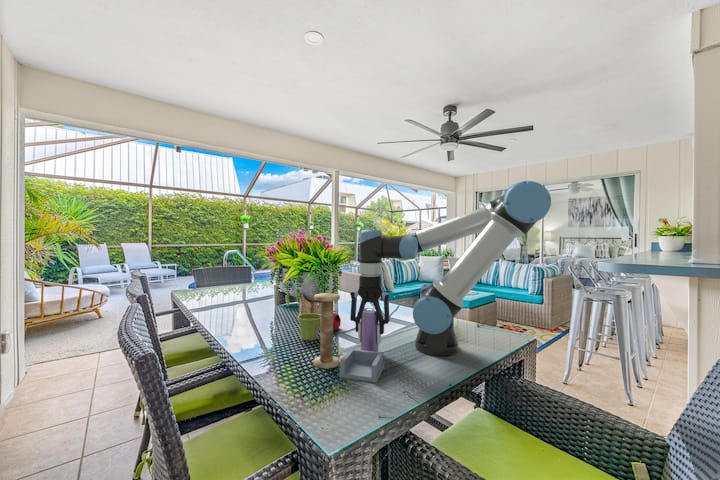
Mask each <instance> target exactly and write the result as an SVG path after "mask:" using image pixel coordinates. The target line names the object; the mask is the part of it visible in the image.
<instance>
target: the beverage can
mask: <svg viewBox="0 0 720 480" xmlns="http://www.w3.org/2000/svg"><path fill="white" fill-rule="evenodd" d="M360 321H361V342H360V350H366V351H375V352H379V345H377V325H378V324H379V320H378V317H377V313H376V310H375V307H374V308H373V307H365V308H364V310H362V313H361V320H360Z"/></svg>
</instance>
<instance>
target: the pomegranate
mask: <svg viewBox="0 0 720 480" xmlns="http://www.w3.org/2000/svg"><path fill="white" fill-rule="evenodd" d="M341 319H342V318H341V317H340V315H339V314H338V313H337V310H333V332H334V331H337V330H338V329H339V328H340V327H341V324H342V323H341V322H342V321H341ZM319 328H320V325H319Z"/></svg>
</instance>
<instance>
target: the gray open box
mask: <svg viewBox="0 0 720 480" xmlns="http://www.w3.org/2000/svg"><path fill="white" fill-rule="evenodd" d="M339 368H340V369H339V372H338V377H339V378H342V379H349V380H356V381H362V382H370V383H378V381H379V379H380V376H381V375H382V372H383V370H384V369H385V363H384V352H382V351H378V352H375V351H366V350H361V349H357V348H350V349H349V350H348V351H347V352H346V354H345V355H344V356H343V357H342V358H341V359H340V360H339Z"/></svg>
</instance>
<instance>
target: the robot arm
mask: <svg viewBox="0 0 720 480" xmlns="http://www.w3.org/2000/svg"><path fill="white" fill-rule="evenodd" d="M551 206H552V197H551V193H550V191H549V190H548V189H547V188H546V186H544V185H543V184H541V183H540V182H537V181H533V180H523V181H520V182H516V183H515V184H513V185H512V186H510V187H509V188H508V189H507V190H506V192H505V193H504V194H503V195H502V196H499V197H498V198H496V199H493V200H491V201H488V202H487V203H486V205H485V206H483V207H480V208H477V209H475V210H472V211H470V212H466V213H464V214H460V215H459V216H455V217H453V218H451V219H448V220H444V221H442V222H440V223H437V224H434V225H432V226H428V227H426V228H423V229H420V230H417V231H415V232H413V233H412V232H411V233H409V234H407V235H383V232H382V230H380V229H363V230H361V231H360V234H359V268H358V269H359V272H358V273H359V274H360V276H358V277H359V281H358V283H359V284H358V290H353V291H351V292H350V294H349V295H350V299H351V304H350V305H351V306H350V318H349V319H350V321H351V322H352V321H353V322H354V323H355V332H356V333H357V341H358V343H360V344H361V313H362V310H364V309H365V308H366V304H367V303H371V304H373V306H374V309H375V310H376V313H377V317H378V320H379V321H378V325H377V345H378V346H380V344H381V342H382V335H384V333H385V325H387V324H389V323H390V305H389V304H390V302H389V301H390V297H391V294H390V293H389V292H388V293H386V292H384V291H383V289H382V276H381V274H382V259H395V260H398V259H399V260H414V259H417V257H418V254H420V253H423V252H425V251H428V250H430V249H433V248H437V247H440V246H442V245H445V244H449V243H452V242H455V241H457V240H460V239H463V238H466V237H469V236H472V235H474V234H478V233H479V234H478V235H477V236H476V237H475V239H473V240H472V242H471V243H470V244H469V246H468V247H467V248H466V249H465V251H464V252H462V254H461V256H460V257H459V258H458V259H457V260H456V261H455V263H454V264H453V265H452V266H451V268H450V269H448V271H447V272H446V273H445V274H444V276H443V277H442V278H441V279H440V280H438V281H432V283H429V284H427V283H426V284H425V283H424V284H421V285H420V286H421V287H420V290H419V291H420V297H419V299H418V300H417V301H415V303H414V305H413V308H412V319H413V321H414V323H415V325H416V326H417V327H418V331H417V335H416V338H415V342H414V343H415V345H414V346H415V349H416V350H418V351H419V352H421V353H424V354H425V355H426V354H427V355H430V356H438V357H439V356H440V357H441V356H442V357H446V356H453V355H456V354H457V353H458V352H459V342H458V338H457V335H456V332H455V328H454V327H455V326H454V321H455V319H454V318H455V317H456V316H457V315H458V314H459V313H460V311H461V310H462V308H464V298H465V297H466V296H467V295H468V294H469V293H470V291H471V290H473V288H474V287H475V285H477V284H478V282H479V281H480V280H481V279H482V278H483V276H485V274H486V273H487V272H488V271H489V269H490V268H491V267H492V266H493V265H494V264H495V263H496V261H497V260H498V259H499V258H500V256H502V254H503V253H504V252H505V251H506V250H507V249H508V247H509V246H510V245H511V244H512V243H513V242H514V240H515V239H516V238H520V237H526V235H527V234H528V233H529V232H530V230H531V229H532V228H533V227H534V226H535V225H536V223H537V222H539V221H540V220H542V219H544V217H545V218H546V216H547V214H548V213H549V212H550V209H551ZM381 296H382V300H383V311H384V312H382V309H381V305H380V301H379V299H380V298H381ZM358 297H360V298H361V301H360V305H359V308H358V310H357V304H358V299H357V298H358ZM383 313H384V315H383Z"/></svg>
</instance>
